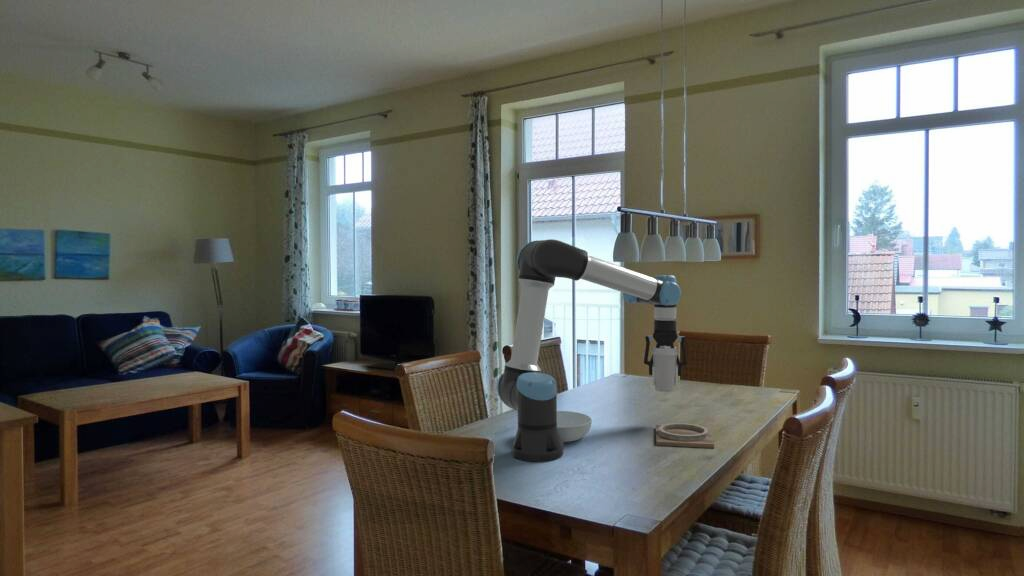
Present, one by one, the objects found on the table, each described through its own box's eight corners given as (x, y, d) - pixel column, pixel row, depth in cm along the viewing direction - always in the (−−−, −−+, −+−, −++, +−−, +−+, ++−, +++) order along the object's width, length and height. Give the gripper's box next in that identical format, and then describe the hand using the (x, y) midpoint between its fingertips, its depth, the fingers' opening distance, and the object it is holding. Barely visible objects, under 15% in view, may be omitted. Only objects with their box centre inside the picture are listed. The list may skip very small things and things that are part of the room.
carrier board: (714, 448, 183) (714, 439, 183) (656, 445, 187) (656, 436, 187) (708, 430, 202) (708, 422, 202) (655, 428, 206) (655, 420, 206)
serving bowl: (538, 451, 183) (538, 429, 182) (519, 433, 203) (519, 413, 203) (602, 445, 188) (602, 423, 188) (577, 428, 208) (577, 408, 208)
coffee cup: (667, 386, 218) (668, 345, 218) (684, 391, 209) (684, 348, 209) (645, 388, 215) (645, 346, 214) (661, 393, 206) (661, 349, 205)
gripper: (694, 318, 212) (694, 383, 213) (636, 318, 217) (635, 381, 218) (695, 320, 205) (695, 387, 206) (635, 319, 210) (635, 385, 210)
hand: (664, 384), depth 212 cm, fingers closed on coffee cup, 7 cm apart
